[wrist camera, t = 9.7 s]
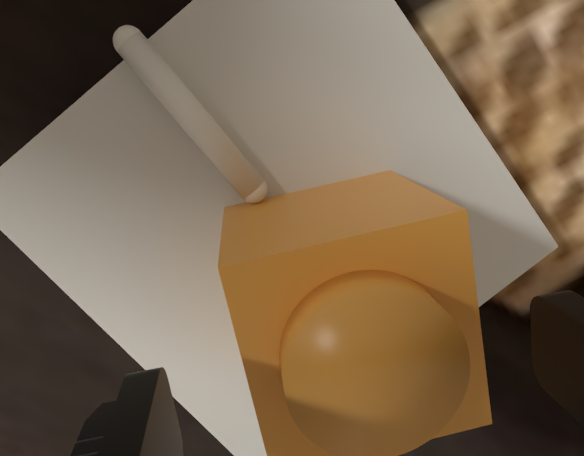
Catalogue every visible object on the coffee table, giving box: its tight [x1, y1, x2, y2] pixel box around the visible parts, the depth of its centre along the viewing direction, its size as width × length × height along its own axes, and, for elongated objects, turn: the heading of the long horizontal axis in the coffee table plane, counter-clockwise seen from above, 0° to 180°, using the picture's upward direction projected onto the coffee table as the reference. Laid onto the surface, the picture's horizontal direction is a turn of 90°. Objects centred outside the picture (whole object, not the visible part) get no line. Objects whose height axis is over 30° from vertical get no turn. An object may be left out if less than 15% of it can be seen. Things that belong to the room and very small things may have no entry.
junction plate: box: [0, 0, 559, 456], centre depth 16 cm, size 15×14×6 cm
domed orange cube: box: [218, 170, 492, 456], centre depth 14 cm, size 6×6×7 cm
